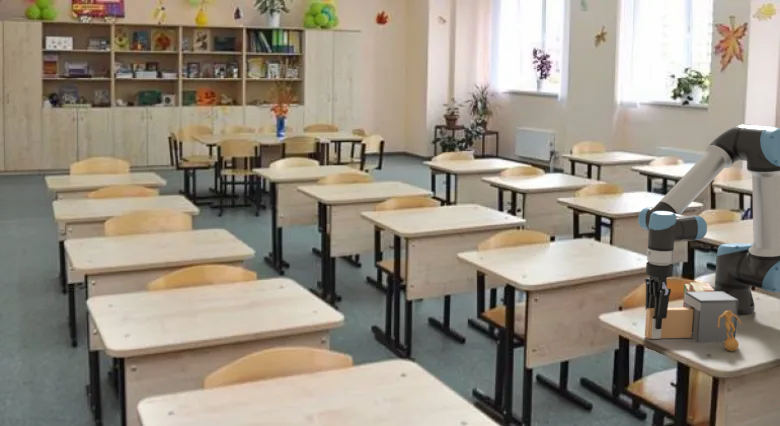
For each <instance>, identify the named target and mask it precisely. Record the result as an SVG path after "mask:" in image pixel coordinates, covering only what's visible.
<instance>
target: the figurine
mask: <svg viewBox="0 0 780 426" xmlns="http://www.w3.org/2000/svg"><path fill="white" fill-rule="evenodd" d="M732 316H734V317H736V318H737V322H738V323H740V325H741V326H743V324H742V321H741V319H739V317H738V315H737V316H736V315H735V314H733V313H732V311H731V310H729V311H725V312H724V313H723V314H722V315H721V316H719V317H718V328H719V327H720V325H719V323H720V318H722V317H725V320H726V322H725V326H726V328H727V331H726V332H727V336H728V339H726V340H725V342H723V346H724V348H725V350H727V351H729V352H735V351H736V350H738V349H739V346H740V345H739V341H738V340H737V339H736V337H735V338H734V337H733V334H732V333H733V332H734V331H735V327H734V325H733V322H731V319H732ZM730 327H731V328H732V329H733V330H731V336H732V338H730V337H729V334H728V333H729V331H730Z"/></svg>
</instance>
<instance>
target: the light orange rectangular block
mask: <svg viewBox="0 0 780 426" xmlns="http://www.w3.org/2000/svg"><path fill="white" fill-rule="evenodd" d="M645 311H646V312H645V313H646V314H645V326H644V328H645V329H644V337H645V339H652V338H651V337H652V323H653V318H652V316H654V315H655V308H647V310H645ZM693 312H694V309H692V308H691V307H683V306H682V307H681V306H680V307H668V309H667V317H666V318H663V319H662V330H661V339H683V338H684V339H685V338H688V339H692V334H693V333H692V324H693ZM652 340H653V339H652Z"/></svg>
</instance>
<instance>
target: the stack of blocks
mask: <svg viewBox="0 0 780 426" xmlns="http://www.w3.org/2000/svg"><path fill="white" fill-rule="evenodd" d="M683 285H684V286H683V298H684V297H685V294H686V292H698V291H714V289H713V288H714V287H713V286H711V285H710V282H709V283H708V282H691V281H690V282H689V283H684V284H683ZM682 307H685V302H684V301H683V306H682Z"/></svg>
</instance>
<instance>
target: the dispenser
mask: <svg viewBox="0 0 780 426" xmlns="http://www.w3.org/2000/svg"><path fill="white" fill-rule="evenodd" d="M684 302H685V307H691V308H692V309H694V312H693V324H692V332H693V333H692V336H691V339H692V340H693V341H695V342H696V343H697V344H698V343H699V344H700V343H703V344H704V343H724V342H725V340H726V339H728V336H727V332H726V331H727V328H726V326H725V322H726V320H725V317H722V318H720V323H719V325H720V327H719V328H718V317H719V316H721V315H722V314H723V313H724V312H725V311H729V310H731V311H732V313H733V314H735V315H736V316H737V317H738V316H739V315H738V304H739V300H738V299H736V298H734V297H732V296H730V295H729V294H727V293H725V292H723V291H698V292H686V294H685V297H684V296H683V303H684ZM731 322H733V325H734V327H735V331H734V332H733V333H732V334H733V337H734V338H735V339H736V335H737V324H738V323H737V322H738V320H737V318H736V317H734V316H732V319H731ZM731 330H733V329H732V328H731V327H730V331H729V333H728V334H729V337H730V338H732V336H731Z"/></svg>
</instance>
